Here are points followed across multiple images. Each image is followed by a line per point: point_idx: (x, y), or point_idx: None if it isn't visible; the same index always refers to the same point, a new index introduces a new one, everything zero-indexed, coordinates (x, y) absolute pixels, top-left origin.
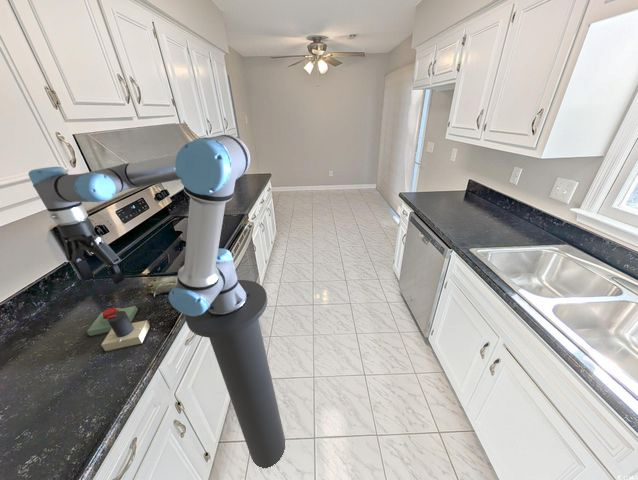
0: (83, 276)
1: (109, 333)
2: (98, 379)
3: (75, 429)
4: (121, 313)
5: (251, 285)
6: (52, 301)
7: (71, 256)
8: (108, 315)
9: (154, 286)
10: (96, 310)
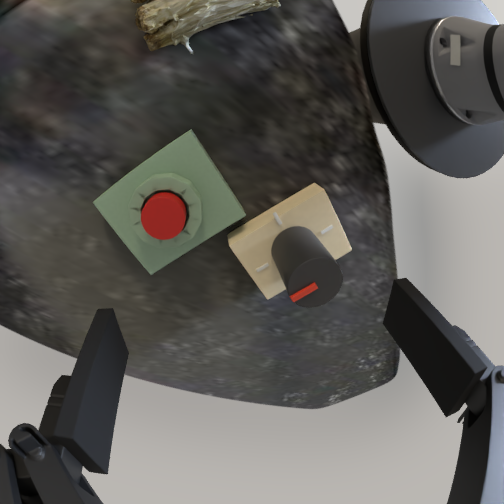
0: (120, 376)
1: (247, 267)
2: (320, 328)
3: (356, 370)
4: (323, 270)
5: (474, 4)
6: None
7: (20, 490)
8: (180, 231)
9: (184, 23)
10: (42, 185)
